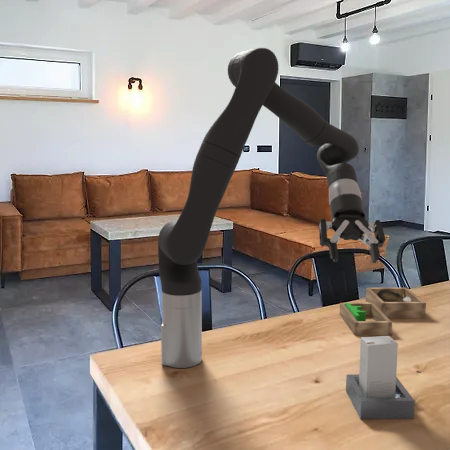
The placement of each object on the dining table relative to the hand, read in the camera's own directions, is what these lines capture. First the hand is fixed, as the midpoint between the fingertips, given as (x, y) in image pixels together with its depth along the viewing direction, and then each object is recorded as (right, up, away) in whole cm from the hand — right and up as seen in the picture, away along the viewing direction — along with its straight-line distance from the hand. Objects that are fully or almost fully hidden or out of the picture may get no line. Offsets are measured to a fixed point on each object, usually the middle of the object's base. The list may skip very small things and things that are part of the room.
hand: (355, 260), depth 112 cm
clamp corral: (+11, -20, +34) cm, 41 cm away
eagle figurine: (+23, -19, +46) cm, 54 cm away
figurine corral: (+24, -18, +47) cm, 56 cm away
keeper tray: (+2, -28, -10) cm, 30 cm away
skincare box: (+1, -27, -10) cm, 29 cm away
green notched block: (+9, -21, +35) cm, 41 cm away
